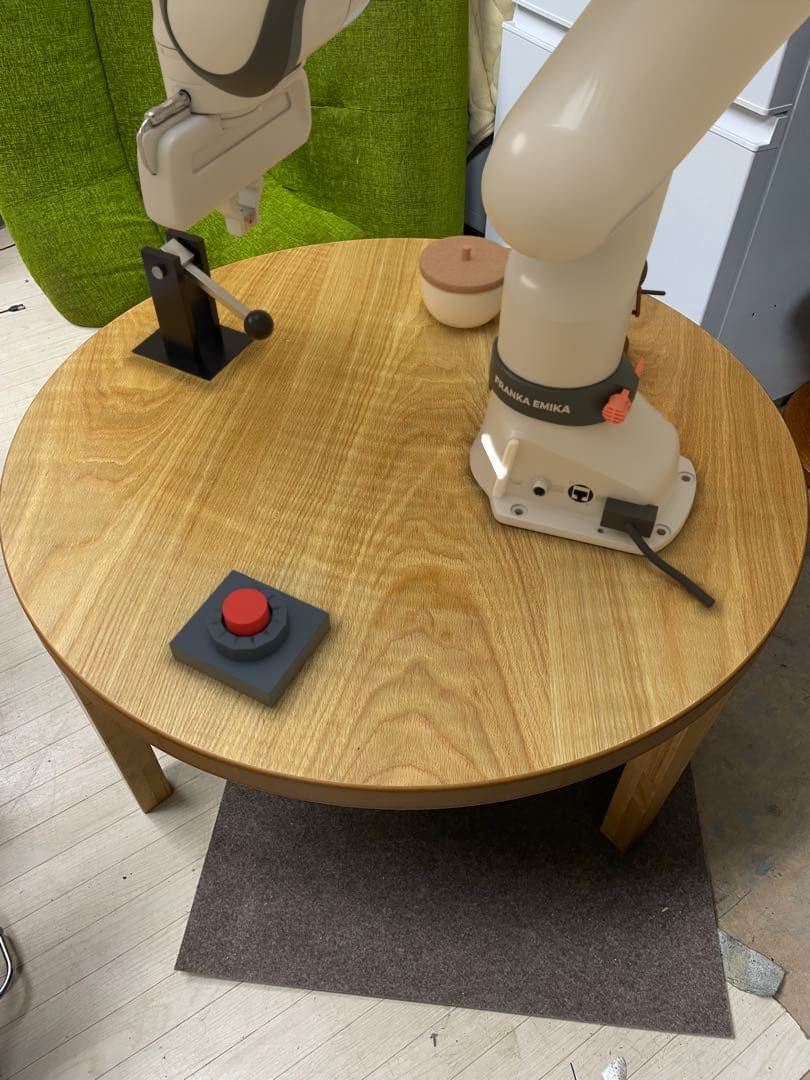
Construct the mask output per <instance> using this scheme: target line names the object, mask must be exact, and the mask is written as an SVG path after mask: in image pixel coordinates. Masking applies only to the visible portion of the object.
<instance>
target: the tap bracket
mask: <svg viewBox="0 0 810 1080" xmlns="http://www.w3.org/2000/svg"><path fill="white" fill-rule="evenodd" d="M164 236H165V241H166V243H168V242H169V241H170V240H172V239H173V238H174V239H175V240H176V241H178V242H179V243H180V244H181V245H183V246H184V247H185V248H186V249H188V250H189V251H190V252H191V253H193V254H194V258H193V262H192V264H193V265H194V266H196V267H197V268H198V269H199V270H201V271H202V272H203V273H204V274H206V275H207V276H208V277H209V278H211V279H212V275H211V269H210V265H209V258H208V254H207V249H206V248H207V247H206V243H205V238H204V237H201V236H200V235H199V236H198V235H196V234H192V233H189V232H186V231H180V230H175V229H172V228H167V230H165V231H164ZM139 251H140V255H141V260H142V263H143V268H144V272H145V276H146V279H147V283H148V288H149V291H150V296H151V299H152V304H153V308H154V311H155V316H156V319H157V323H158V327H159V328H157V329H156V330H155V331H154V332H152V333H151V334H150V335H149V336H147V337H146V338H144V340H143V341H141V342H140V343H139V344H137V346H135V347H134V348H133V349H132V350H130V352H131V353H133V354H135V355H138V356H141V357H143V358H146V359H149V360H152V361H154V362H157V363H159V364H162V365H164V366H168V367H169V368H172V369H175V370H178V371H180V372H183V373H185V374H188V375H191V376H193V377H196V378H199V379H201V380H205V381H206V382H211V381H212V380H213V379H214V378H215V377H216V376H217V375H219V374H220V372H221V371H222V370H224V369H225V368H226V367H227V366H228V365H229V364H230V363H231V362H232V361H233V360H235V359H236V357H238V356H239V355H240V354H241V353H242V352H243V351H244V350H246V348H247V347H248V346H250V345H251V344H252V343H253V342H254V341H255V340H254V339H252V338H250V337H249V336H248V335H247V334H246V332H242V331H240V330H237V329H234V328H231V327H229V326H226V325H223V324H221V322H220V318H219V317H220V316H219V312H218V307H217V300H216V299H214V298H213V297H212V296H210V295H209V294H208V293H207V292H205V291H204V290H203V289H202V288H200V287H199V286H198V285H197V284H195V283H194V282H193V281H191V280H190V279H189V278H188V277H186V276H185V275H184V274H183V269H182V265H181V260H180V256H177V255H174V254H171V253H168V252H165V251H162V250H160V248H156V247H153V246H149V245H144V246H143V247H141V248H140V249H139Z"/></svg>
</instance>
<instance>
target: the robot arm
mask: <svg viewBox="0 0 810 1080" xmlns="http://www.w3.org/2000/svg"><path fill="white" fill-rule="evenodd" d="M371 2H372V0H151V4H152V13H153V15H152V33H153V37H154V42H155V47H156V51H157V57H158V61H159V66H160V71H161V75H162V80H163V84H164V89H165V93H166V100H164V101H163V102H161V104H159V105H156V106H152V107H151V108H149V109H148V110H147V111H146V112H145V113H144V115H143V121H142V123H141V125H140V127H139V131H137V133H136V137H135V138H136V139H135V140H136V146H137V148H136V150H137V151H136V155H137V166H138V167H137V168H138V176H139V182H140V189H141V194H142V200H143V206H144V210H145V213H146V216H147V217H148V218H149V219H150V220H151V221H153V222H154V223H155V224H157V225H159V226H161V227H166V228H167V229H169V228H172V229H175V230H180V231H183V232H186V231H188V230H189V229H190V228H192V227H193V226H195V225H196V224H197V223H199V222H200V221H202V219H204V218H205V217H207V216H208V215H210V213H212V212H214V211H215V210H216V209H217V210H218V211H219V213H220V214H221V215H222V216H223V217H224V222H225V226H226V227H225V228H226V231H227V233H229V234H230V235H232V236H235V237H239V238H240V237H243V236H244V235H245V234H247V233H248V232H249V231H250V230H251V229H253V228H254V227H255V226H257V225H258V224H259V223H260V222H261V213H260V207H259V205H260V202H261V198H262V194H263V190H264V183H265V181H264V176H263V175H264V174H265V173H266V172H268V171H269V170H271V168H273V167H274V166H276V165H277V164H279V163H280V162H281V161H282V160H284V159H285V158H287V157H288V156H289V155H291V154H292V153H294V152H295V151H296V150H298V149H299V148H300V147H302V146H303V145H304V144H306V143H307V142H308V140H309V137H310V134H311V130H312V106H311V95H310V88H309V81H308V77H307V73H306V71H305V69H304V68H303V67H304V66H305V65H306V63H307V58H308V57H310V56H311V55H312V54H314V53H315V52H316V51H317V50H319V49H321V47H323V46H324V45H326V43H328V42H329V41H330V40H332V39H333V38H334V37H335V36H336V35H338V34H339V33H341V32H343V30H345V29H346V28H347V27H348V26H350V25H351V24H352V23H353V22H354V21H356V19H357V18H358V17H359V16H360V15H361V14H362V13H363V12H364V11H365V10H366V9H367V8H368V6H369V5H370V4H371ZM808 18H810V0H590V1H589V2H588V3H587V5H586V6H585V7H584V9H583V10H582V12H581V13H580V14H579V15H578V17H577V18H576V19H575V21H574V23H573V24H572V25H571V26H570V28H569V29H568V31H567V32H565V33H566V34H565V35H564V36H563V37H562V39H561V40H560V41H559V43H558V44H557V45H556V47H555V48H554V49H553V51H552V52H551V53H550V55H549V56H548V57H547V59H546V60H545V62H544V63H543V64H542V65H541V67H540V68H539V69H538V71H537V72H536V73H535V75H534V77H532V79H531V81H530V82H529V83H528V84H527V86H526V87H525V89H524V90H523V91H522V93H521V94H520V96H519V97H518V98H517V100H515V102H514V104H513V105H512V106H511V108H510V109H509V110H508V112H507V114H506V115H505V117H504V119H503V120H502V122H501V124H500V126H499V128H498V130H497V132H496V134H495V137H494V139H493V141H492V144H491V146H490V148H489V153H488V155H487V157H486V161H485V163H484V166H483V169H482V174H481V181H480V186H481V187H480V191H481V201H482V206H483V208H484V209H483V210H484V213H485V215H486V218H487V219H488V221H489V223H490V225H491V227H492V228H493V230H494V231H495V233H496V234H497V235H498V237H499V238H500V239H501V240H502V241H503V242H504V243H505V244H506V245H507V246H509V248H510V250H509V251H508V252H509V255H508V258H507V262H506V266H505V274H504V284H503V293H502V303H501V309H500V311H499V312H500V313H499V323H498V334H497V335H496V336H495V337H494V338H493V341H492V342H493V343H492V348H491V351H490V357H489V361H488V362H489V363H488V372H487V373H488V385H487V386H488V390H489V398H488V402H487V406H486V409H485V410H486V411H485V413H484V417H483V421H482V422H481V425H480V429H479V431H478V433H477V435H476V438H475V439H474V442H473V443H472V445H471V449H470V451H469V467H470V471H471V473H472V476H473V477H474V480H475V481H476V483H477V484H478V486H480V488H481V489H482V491H484V493H485V495H486V496H487V497H488V499H489V504H490V509H491V513H492V515H493V517H494V519H495V520H497V522H499V523H501V524H504V525H508V526H511V527H517V528H521V529H525V530H530V531H534V532H538V533H542V534H547V535H552V536H556V537H560V538H563V539H568V540H573V541H578V542H581V543H586V544H591V545H594V546H595V545H596V546H599V547H604V548H608V549H612V550H617V551H621V552H625V553H630V554H634V555H638V556H645V557H646V559H647V560H649V561H650V563H652V564H653V565H654V566H655V567H656V568H658V569H659V570H660V571H661V572H663V573H664V574H666V575H667V576H669V577H670V578H672V579H673V580H675V581H676V582H678V583H679V584H680V585H681V586H683V587H684V588H685V589H687V590H688V591H689V592H690V593H691V594H693V596H695V597H696V598H697V599H698V600H699V601H700V602H702V603H703V604H704V605H705V606H707V607H708V608H712V606H714V605H715V603H716V599H714V598H713V597H712V595H710V594H708V593H707V592H706V591H705V590H704V589H702V587H700V586H699V585H698V584H697V583H695V582H694V581H693V580H692V579H690V578H689V577H688V576H687V575H685V574H684V573H682V572H681V571H680V570H678V569H677V568H675V567H674V566H672V565H671V564H669V563H668V562H666V561H665V560H664V559H663V558H661V557H660V556H659V555H658V554H657V552H659V551H661V550H662V549H665V547H667V546H668V545H669V544H670V543H671V542H672V541H673V540H674V539H675V538H676V536H678V535H679V533H680V531H681V530H682V529H683V527H684V525H685V523H686V521H687V519H688V518H689V515H690V513H691V510H692V507H693V504H694V501H695V500H694V499H695V495H696V490H697V474H696V470H695V468H694V465H693V463H692V461H691V460H690V459H689V458H687V457H686V456H683V455H681V445H680V437H679V433H678V431H677V428H676V427H675V425H674V423H672V422H671V421H670V420H669V419H668V418H666V416H664V415H663V414H662V413H661V412H660V411H659V410H658V409H657V408H656V406H654V405H653V404H652V403H651V402H650V401H649V400H648V399H647V398H646V397H645V396H643V394H642V393H640V392H639V390H638V386H639V383H640V377H641V375H642V373H643V369H644V363H645V358H644V357H642V358H641V359H640V361H639V362H638V364H637V366H636V367H635V369H634V367H633V365H632V364H631V363H630V362H629V360H628V357H626V356H625V353H624V350H623V347H624V343H625V339H626V335H627V336H628V331H629V326H630V321H631V317H632V315H631V314H632V310H634V305H635V302H636V296H637V289H638V285H639V281H640V277H641V274H642V271H643V268H644V265H645V262H646V259H647V260H648V255H649V252H650V249H651V246H652V243H653V239H654V236H655V233H656V230H657V227H658V223H659V220H660V217H661V213H662V211H663V207H664V204H665V202H666V201H665V200H666V196H667V194H668V191H669V187H670V184H671V180H672V177H673V174H674V171H675V170H676V169H677V167H678V166H679V165H680V164H681V163H682V162H683V160H684V159H685V158H686V157H687V156H688V155H689V154H690V153H691V152H692V150H693V149H694V148H695V147H696V146H697V144H699V142H700V141H701V140H702V139H703V137H704V136H705V135H707V133H708V132H709V131H710V130H711V129H712V127H713V126H714V125H715V124H716V122H717V121H718V120H719V119H720V118H721V117H722V116H723V115H724V113H725V112H726V111H727V110H728V108H729V107H730V106H731V105H732V104H733V103H734V102H735V100H736V99H737V98H738V97H739V96H740V95H741V93H742V92H743V91H744V90H745V89H746V87H747V86H748V85H749V84H750V83H751V81H752V80H753V79H754V78H755V77H756V75H758V73H759V72H760V71H761V69H763V67H764V66H765V65H766V64H767V62H768V61H769V60H771V58H772V57H773V56H774V55H775V54H776V53H777V51H778V50H779V49H780V48H781V47H782V46H783V45H784V44H785V43H786V41H788V40H789V39H790V38H791V36H792V35H793V34H794V33H795V32H796V31H797V30H798V29H799V28H800V27H801V26H802V25H803V23H805V21H806V20H807V19H808ZM237 203H238V204H237Z"/></svg>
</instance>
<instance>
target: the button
mask: <svg viewBox="0 0 810 1080" xmlns="http://www.w3.org/2000/svg"><path fill="white" fill-rule="evenodd" d="M222 610H223V615H224V619H225V622H226V626H227V628H228V629H229V630H230V631H231V632H232V633H234V634H236V635H239V636H251V635H255V634H257V633H259V632H260V631H262V630H263V629H264V628H265V627H266V625H267V624H268V622H269V617H270V615H269V609H268V604H267V600H266V598H265V596H264V595H263V594H262V593H261V592H259V591H257V590H254V589H240V590H237V591H235V592H233V593H231V594H230V595H229V596H228V597H227V598H226V599H225V601H224V603H223V607H222Z"/></svg>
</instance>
